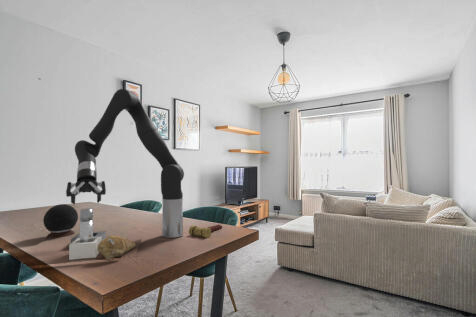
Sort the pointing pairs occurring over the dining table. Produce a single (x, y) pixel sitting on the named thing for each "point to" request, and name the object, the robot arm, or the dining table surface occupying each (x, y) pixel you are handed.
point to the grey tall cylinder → (86, 225)
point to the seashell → (115, 246)
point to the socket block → (95, 234)
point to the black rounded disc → (60, 221)
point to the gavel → (203, 230)
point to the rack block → (84, 249)
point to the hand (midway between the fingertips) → (86, 202)
